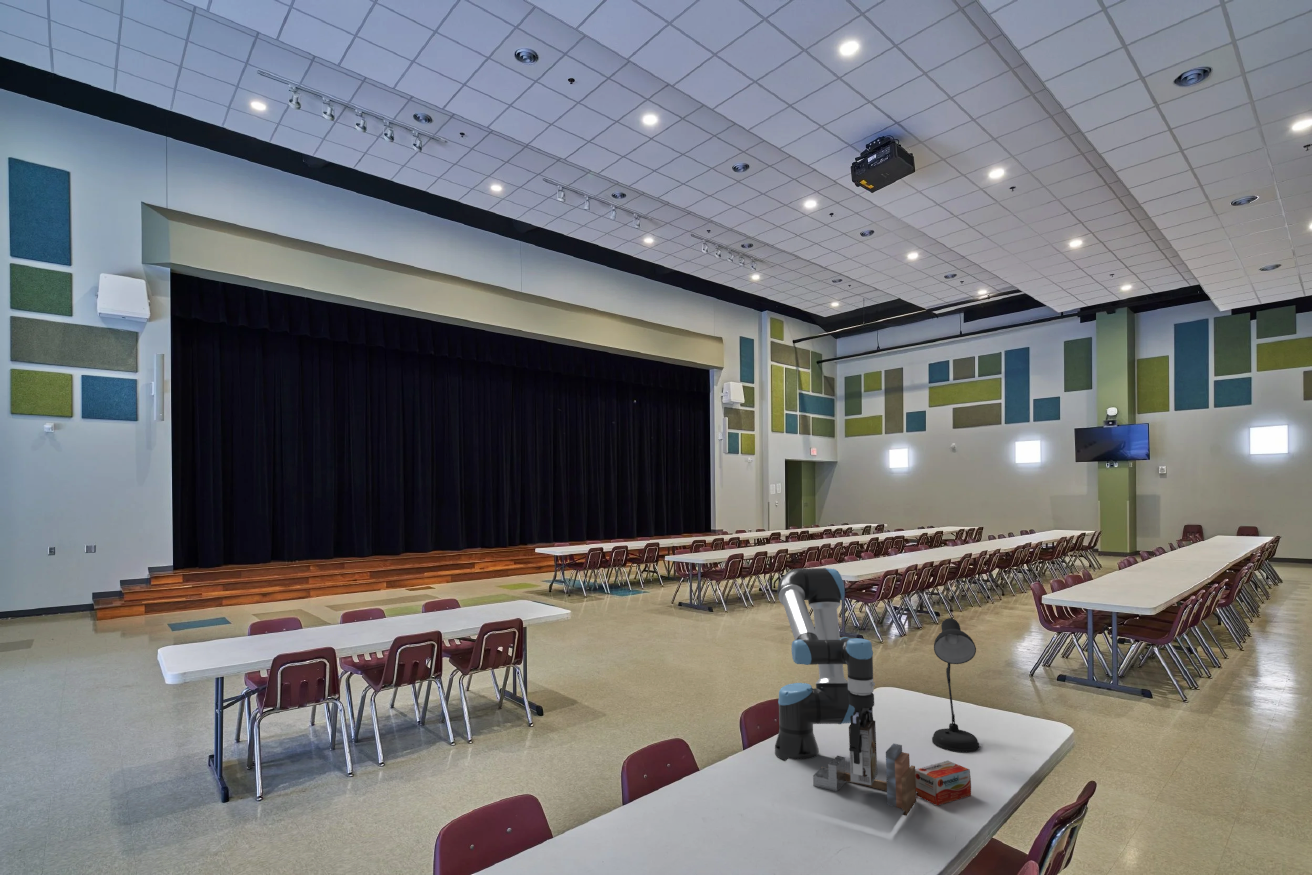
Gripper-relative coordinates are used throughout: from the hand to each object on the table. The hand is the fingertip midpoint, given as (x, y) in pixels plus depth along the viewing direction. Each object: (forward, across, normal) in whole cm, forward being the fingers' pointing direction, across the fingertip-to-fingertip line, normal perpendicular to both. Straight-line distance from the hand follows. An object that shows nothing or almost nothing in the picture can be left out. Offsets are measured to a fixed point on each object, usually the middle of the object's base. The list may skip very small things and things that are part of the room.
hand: (863, 768), depth 200 cm
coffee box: (+3, 0, 0) cm, 3 cm away
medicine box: (+9, +14, -19) cm, 26 cm away
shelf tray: (+8, +1, +1) cm, 8 cm away
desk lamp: (+8, +60, -14) cm, 62 cm away
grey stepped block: (+7, 0, +11) cm, 13 cm away
